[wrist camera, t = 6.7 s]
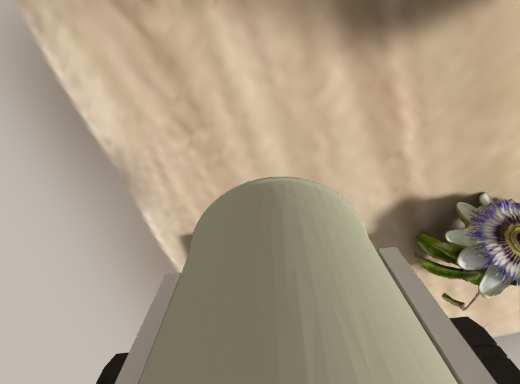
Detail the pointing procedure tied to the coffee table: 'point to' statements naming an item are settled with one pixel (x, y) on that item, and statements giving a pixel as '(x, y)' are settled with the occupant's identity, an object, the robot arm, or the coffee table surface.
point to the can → (288, 298)
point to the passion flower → (479, 247)
